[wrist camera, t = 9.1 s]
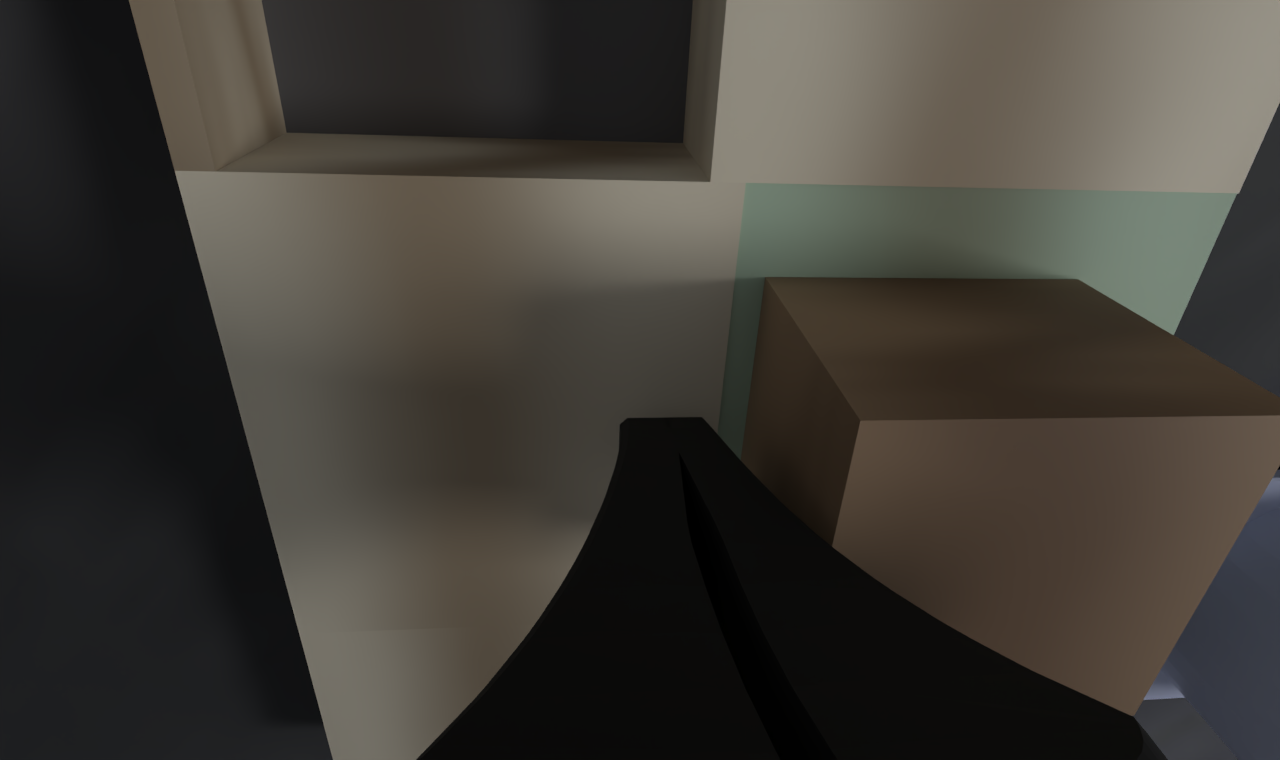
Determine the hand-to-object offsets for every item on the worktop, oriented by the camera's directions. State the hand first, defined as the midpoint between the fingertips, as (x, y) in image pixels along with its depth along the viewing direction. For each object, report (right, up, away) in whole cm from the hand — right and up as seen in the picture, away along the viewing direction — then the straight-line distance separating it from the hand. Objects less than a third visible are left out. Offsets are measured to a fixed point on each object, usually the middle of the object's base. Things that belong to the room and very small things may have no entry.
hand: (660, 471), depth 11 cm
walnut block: (+4, +1, +1) cm, 4 cm away
